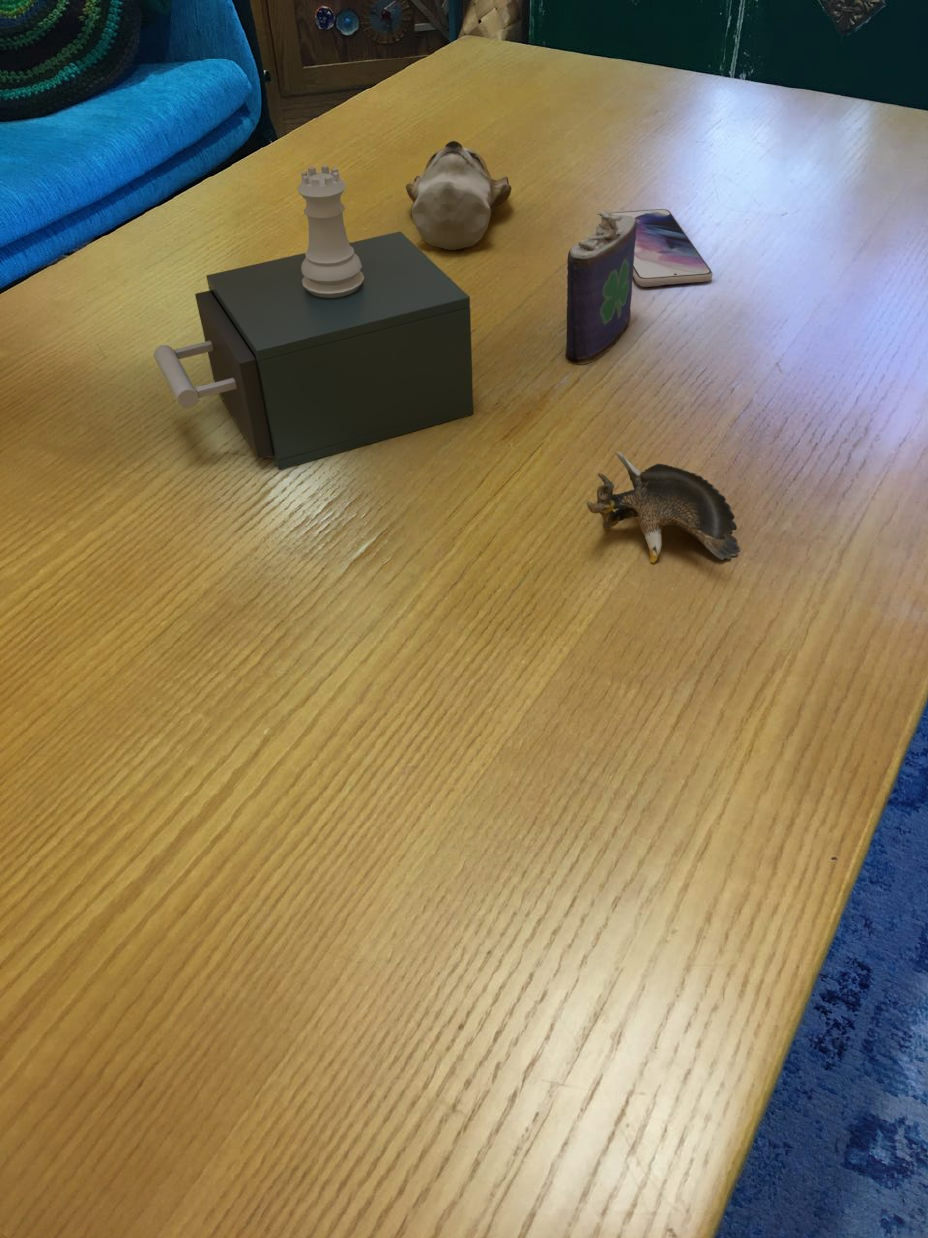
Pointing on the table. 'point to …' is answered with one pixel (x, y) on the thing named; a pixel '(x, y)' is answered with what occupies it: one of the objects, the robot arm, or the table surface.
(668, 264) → the smartphone
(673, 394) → the table surface
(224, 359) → the drawer
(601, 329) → the flask
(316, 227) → the rook chess piece
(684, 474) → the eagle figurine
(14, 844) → the table surface
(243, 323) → the cabinet
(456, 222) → the ceramic sculpture
